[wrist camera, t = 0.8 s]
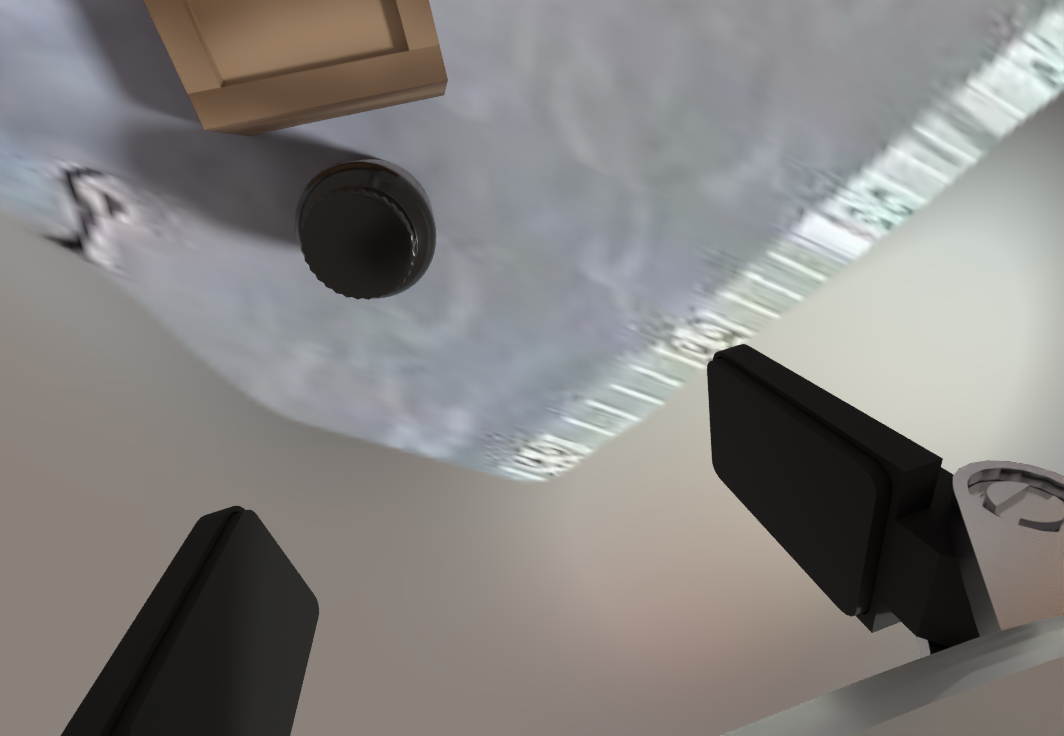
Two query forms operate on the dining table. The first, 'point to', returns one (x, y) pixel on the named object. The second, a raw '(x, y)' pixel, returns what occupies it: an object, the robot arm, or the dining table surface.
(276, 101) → the display plinth
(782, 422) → the robot arm
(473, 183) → the dining table surface
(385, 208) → the supplement bottle
